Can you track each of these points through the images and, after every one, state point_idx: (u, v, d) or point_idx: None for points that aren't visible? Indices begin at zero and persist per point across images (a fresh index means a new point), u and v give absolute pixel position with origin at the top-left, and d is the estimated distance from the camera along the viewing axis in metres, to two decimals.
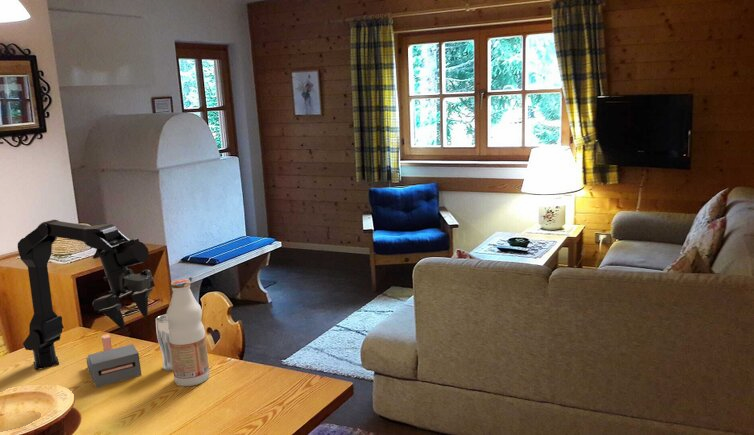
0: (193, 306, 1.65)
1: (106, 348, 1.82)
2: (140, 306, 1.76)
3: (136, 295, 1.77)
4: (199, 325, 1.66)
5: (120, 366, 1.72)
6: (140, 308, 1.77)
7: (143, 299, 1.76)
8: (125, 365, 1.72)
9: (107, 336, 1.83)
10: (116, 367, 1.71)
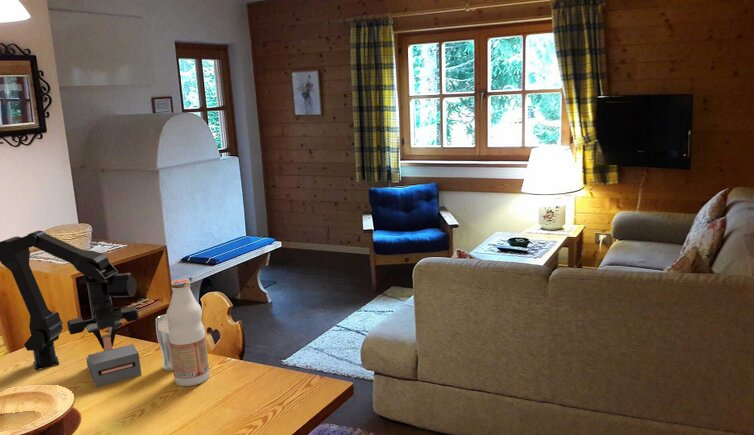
0: (193, 306, 1.65)
1: (106, 348, 1.82)
2: (110, 335, 1.84)
3: None
4: (199, 325, 1.66)
5: (120, 366, 1.72)
6: None
7: (111, 331, 1.82)
8: (125, 365, 1.72)
9: (107, 336, 1.83)
10: (116, 367, 1.71)
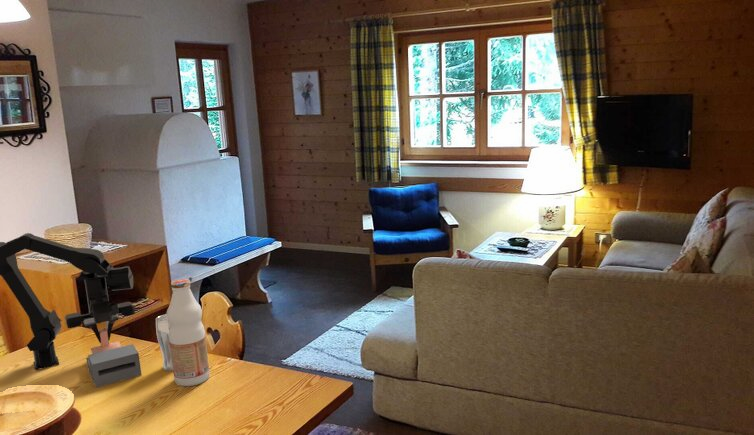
0: (193, 306, 1.65)
1: (103, 342, 1.87)
2: (106, 329, 1.89)
3: None
4: (199, 325, 1.66)
5: None
6: None
7: (107, 325, 1.87)
8: None
9: (104, 330, 1.88)
10: None
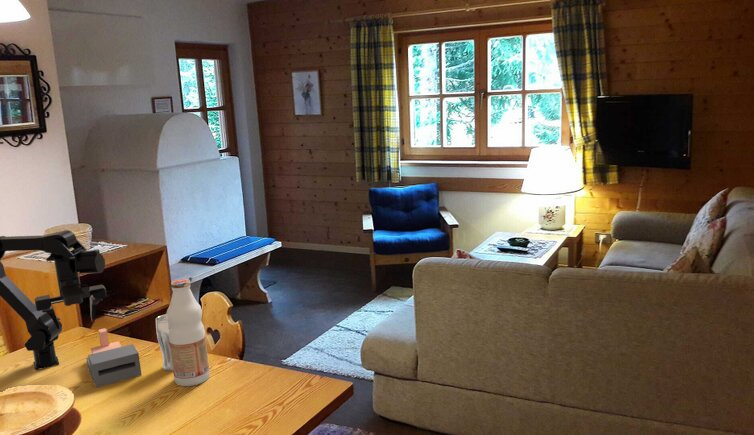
0: (193, 306, 1.65)
1: (103, 342, 1.87)
2: (90, 310, 1.86)
3: (90, 299, 1.86)
4: (199, 325, 1.66)
5: None
6: None
7: (91, 306, 1.84)
8: None
9: (104, 330, 1.88)
10: None
